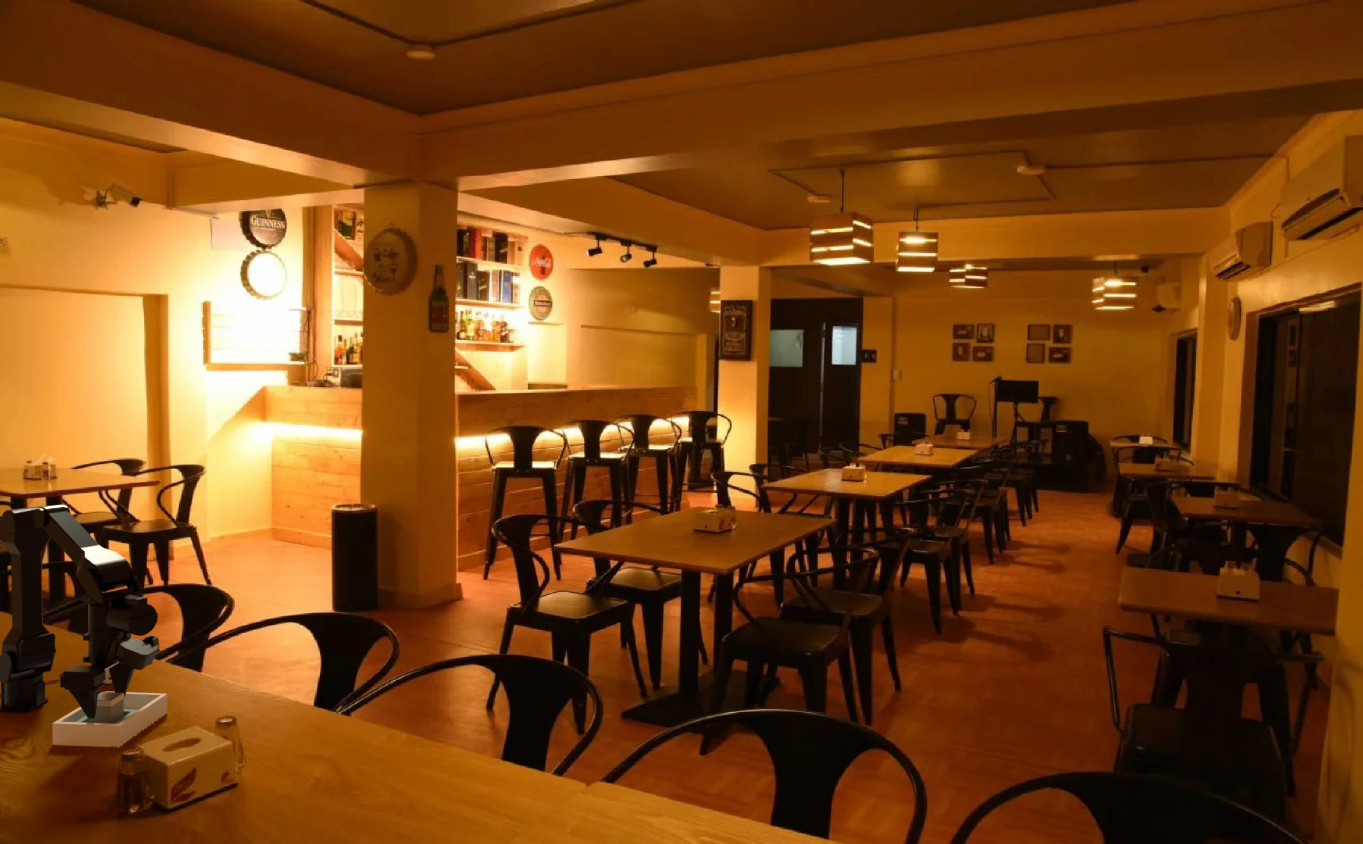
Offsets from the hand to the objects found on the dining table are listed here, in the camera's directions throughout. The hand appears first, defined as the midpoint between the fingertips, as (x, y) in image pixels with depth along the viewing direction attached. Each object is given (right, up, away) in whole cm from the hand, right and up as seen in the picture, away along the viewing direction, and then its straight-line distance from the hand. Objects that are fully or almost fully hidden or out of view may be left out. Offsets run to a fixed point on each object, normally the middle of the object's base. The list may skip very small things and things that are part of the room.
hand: (106, 708), depth 174 cm
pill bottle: (-16, -2, +27) cm, 31 cm away
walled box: (0, -4, +2) cm, 5 cm away
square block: (0, -4, 0) cm, 4 cm away
